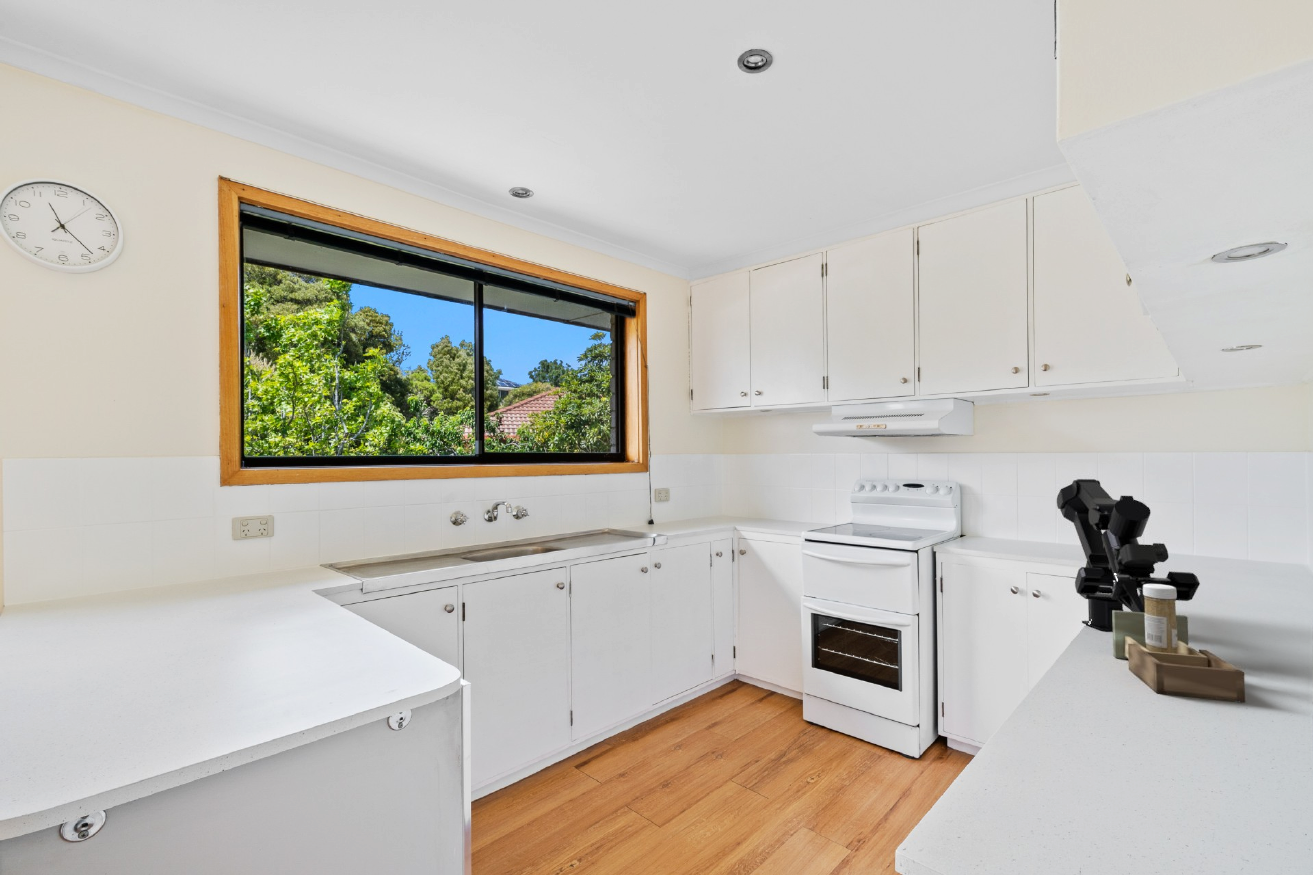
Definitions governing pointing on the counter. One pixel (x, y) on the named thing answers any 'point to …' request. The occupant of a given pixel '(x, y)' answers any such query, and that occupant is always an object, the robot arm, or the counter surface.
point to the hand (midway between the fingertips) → (1147, 621)
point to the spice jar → (1160, 618)
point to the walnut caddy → (1189, 677)
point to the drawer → (1133, 632)
